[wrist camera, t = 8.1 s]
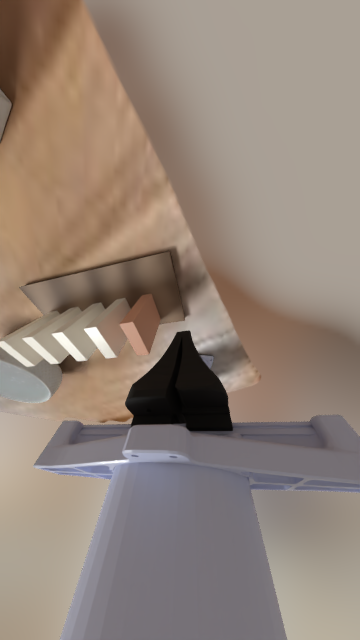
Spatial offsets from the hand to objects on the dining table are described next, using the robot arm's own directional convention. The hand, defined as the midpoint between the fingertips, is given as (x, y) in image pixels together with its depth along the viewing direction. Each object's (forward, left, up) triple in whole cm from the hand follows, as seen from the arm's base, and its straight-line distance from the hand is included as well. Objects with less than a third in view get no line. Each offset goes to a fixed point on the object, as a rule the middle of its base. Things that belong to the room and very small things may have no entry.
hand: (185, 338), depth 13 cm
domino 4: (-3, +10, -9) cm, 14 cm away
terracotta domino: (-2, +6, -9) cm, 11 cm away
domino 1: (-6, +23, -9) cm, 26 cm away
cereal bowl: (-19, +36, -10) cm, 42 cm away
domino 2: (-5, +19, -9) cm, 21 cm away
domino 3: (-4, +14, -9) cm, 17 cm away
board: (-2, +14, -10) cm, 17 cm away
